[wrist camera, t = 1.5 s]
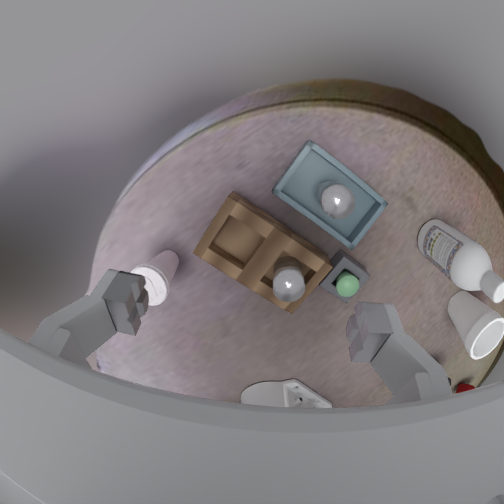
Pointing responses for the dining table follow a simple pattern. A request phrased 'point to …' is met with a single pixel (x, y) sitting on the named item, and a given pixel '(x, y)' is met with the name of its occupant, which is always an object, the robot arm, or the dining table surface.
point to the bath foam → (460, 259)
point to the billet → (335, 199)
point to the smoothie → (158, 275)
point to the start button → (346, 283)
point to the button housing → (339, 264)
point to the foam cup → (475, 324)
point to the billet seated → (288, 279)
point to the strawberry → (464, 387)
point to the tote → (304, 194)
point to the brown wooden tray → (258, 249)
